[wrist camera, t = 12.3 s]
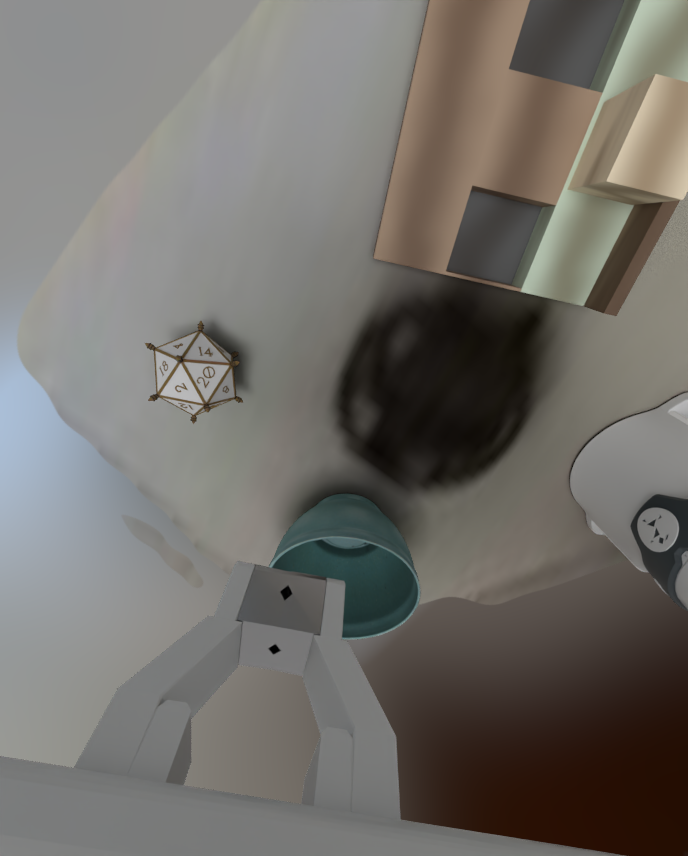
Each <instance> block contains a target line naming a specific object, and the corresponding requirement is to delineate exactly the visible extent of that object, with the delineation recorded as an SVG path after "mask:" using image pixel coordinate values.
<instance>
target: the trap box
mask: <svg viewBox="0 0 688 856" xmlns="http://www.w3.org/2000/svg"><path fill="white" fill-rule="evenodd" d="M654 74H658V75H662V76H666V77H670V78H673V79H677V80H681V81H685V82H688V0H429V2H428V6H427V11H426V16H425V20H424V25H423V29H422V34H421V39H420V43H419V48H418V52H417V57H416V62H415V66H414V71H413V75H412V80H411V85H410V89H409V94H408V98H407V103H406V108H405V112H404V117H403V121H402V126H401V131H400V135H399V140H398V144H397V149H396V154H395V158H394V163H393V167H392V172H391V177H390V181H389V186H388V190H387V195H386V200H385V204H384V209H383V213H382V218H381V223H380V227H379V232H378V236H377V241H376V246H375V250H374V255H373V258H374V259H378V260H382V261H387V262H391V263H396V264H400V265H404V266H409V267H413V268H418V269H422V270H426V271H431V272H435V273H440V274H444V275H448V276H453V277H457V278H462V279H466V280H471V281H475V282H479V283H484V284H488V285H493V286H497V287H501V288H506V289H510V290H515V291H519V292H523V293H528V294H532V295H537V296H541V297H546V298H550V299H554V300H559V301H563V302H568V303H572V304H576V305H581V306H585V307H587V308H590V309H593V310H596V311H599V312H602V313H605V314H609V315H614V316H616V315H617V314H618V312H619V310H620V308H621V306H622V305H623V303H624V301H625V299H626V297H627V296H628V294H629V292H630V290H631V288H632V286H633V285H634V283H635V281H636V279H637V277H638V276H639V274H640V272H641V270H642V268H643V266H644V265H645V263H646V261H647V259H648V257H649V256H650V254H651V252H652V250H653V248H654V247H655V245H656V243H657V241H658V239H659V237H660V236H661V234H662V232H663V230H664V228H665V227H666V225H667V223H668V221H669V219H670V217H671V216H672V214H673V212H674V210H675V208H676V207H677V205H678V203H679V201H680V200H678V201H668V202H658V203H648V204H637V205H629V204H625V203H621V202H617V201H613V200H609V199H605V198H600V197H596V196H592V195H588V194H584V193H580V192H576V191H572V190H568V187H569V184H570V182H571V180H572V177H573V175H574V172H575V170H576V168H577V165H578V163H579V161H580V158H581V156H582V153H583V151H584V149H585V146H586V144H587V141H588V139H589V137H590V134H591V132H592V130H593V127H594V125H595V122H596V120H597V118H598V115H599V113H600V111H601V108H602V106H603V103H604V102H605V101H607V100H609V99H611V98H612V97H614V96H616V95H618V94H620V93H622V92H623V91H625V90H627V89H629V88H631V87H633V86H634V85H636V84H638V83H640V82H642V81H644V80H645V79H647V78H649V77H651V76H653V75H654Z"/></svg>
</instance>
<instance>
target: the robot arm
mask: <svg viewBox="0 0 688 856" xmlns="http://www.w3.org/2000/svg"><path fill="white" fill-rule="evenodd" d="M570 487H571V491H572V494H573V496H574V498H575V500H576V501H577V503H578V504H579V505H580V506H581V507H582V508H583V509H584V511H585V513H586V520H587V524H588V527H589V528H590V529H591V530H592V531H593V532H594V533H595V534H598V535H606V536H607V537H608V538H609V539H610V541H611V542H612V543H613V544H614V545H615V546H616V547H617V548H618V549H619V550H620V551H621V552H622V553H623V554H624V555H625V556H626V557H627V558H628V560H629V561H630V562H631V563H632V564H634V566H635V567H637V569H639V570H640V571H642V572H649V573H650V574H651V575H652V576H653V578H654V580H655V582H656V583H657V585H658V586H659V587H660V588H661V589H662V590H663V592H664V593H666V594H667V595H668V596H670V598H671V599H672V600H673V601H674V602H675V603H676V604H677V605H678V606H680V607H681V608H683V609H685V610H687V611H688V392H687V393H683V394H681V395H679V396H677V397H675V398H673V399H671V400H670V401H668V402H667V403H665V404H663V405H662V406H660V407H659V408H657V409H654V410H651V411H648V412H645V413H641V414H638V415H635V416H632V417H629V418H626V419H624V420H622V421H619V422H617V423H615V424H613V425H612V426H610V427H608V428H607V429H605V430H604V431H602V432H601V433H600V434H598V435H597V436H596V437H595V438H593V439H592V440H591V441H590V442H589V443H588V444H587V445H586V446H585V448H584V449H583V450H582V451H581V453H580V454H579V456H578V457H577V459H576V461H575V463H574V465H573V468H572V471H571V476H570ZM344 600H345V582H344V581H342V580H336V579H331V578H326V577H322V576H317V575H311V574H305V573H299V572H293V571H291V572H289V571H284V570H280V569H275V568H270V567H266V566H261V565H256V564H251V563H246V562H241V561H237V563H236V564H235V566H234V568H233V570H232V573H231V575H230V578H229V580H228V583H227V585H226V588H225V590H224V593H223V595H222V598H221V600H220V603H219V605H218V608H217V610H216V613H215V615H214V617H213V616H207V617H206V618H205V619H203V620H202V621H201V622H200V623H198V624H197V625H196V626H195V627H193V628H192V629H191V630H190V631H189V632H187V633H186V634H185V635H184V636H182V637H181V638H180V639H179V640H177V641H176V642H175V643H174V644H172V645H171V646H170V647H169V648H167V649H166V650H165V651H164V652H162V653H161V654H160V655H159V656H157V657H156V658H155V659H154V660H152V661H151V662H150V663H149V664H148V665H146V666H145V667H144V668H143V669H141V670H140V671H139V672H138V673H137V674H135V675H134V676H133V677H131V678H130V679H129V680H128V681H126V682H125V683H124V684H123V685H122V686H120V687H119V688H118V689H117V691H116V693H115V694H114V696H113V698H112V700H111V702H110V703H109V705H108V707H107V709H106V711H105V712H104V714H103V716H102V718H101V720H100V721H99V723H98V725H97V727H96V729H95V730H94V732H93V734H92V736H91V738H90V740H89V741H88V743H87V745H86V747H85V748H84V750H83V752H82V754H81V756H80V757H79V759H78V761H77V763H76V765H75V766H74V768H72V767H66V766H59V765H53V764H47V763H40V762H34V761H28V760H22V759H16V758H9V757H3V756H0V856H623V855H617V854H610V853H604V852H598V851H591V850H586V849H579V848H573V847H567V846H561V845H554V844H548V843H542V842H536V841H529V840H523V839H517V838H511V837H504V836H498V835H492V834H485V833H479V832H473V831H467V830H460V829H453V828H447V827H442V826H435V825H429V824H422V823H417V822H410V821H404V820H400V801H399V783H398V765H397V746H396V736H395V734H394V732H393V730H392V728H391V726H390V724H389V722H388V720H387V718H386V716H385V714H384V712H383V710H382V708H381V706H380V704H379V702H378V700H377V698H376V696H375V694H374V692H373V690H372V688H371V686H370V684H369V682H368V680H367V679H366V676H365V674H364V673H363V670H362V669H361V667H360V665H359V663H358V661H357V659H356V657H355V655H354V653H353V651H352V649H351V647H350V645H349V643H348V641H346V640H342V631H343V615H344ZM238 665H243V666H250V667H257V668H264V669H271V670H276V671H281V672H285V673H290V674H295V675H300V676H303V681H304V684H305V687H306V690H307V693H308V697H309V700H310V703H311V706H312V709H313V712H314V715H315V718H316V721H317V725H318V728H319V731H320V734H321V736H320V739H319V742H318V744H317V747H316V750H315V753H314V755H313V758H312V761H311V763H310V766H309V769H308V771H307V774H306V777H305V780H304V788H303V796H302V804H297V803H291V802H285V801H279V800H273V799H266V798H260V797H254V796H247V795H241V794H235V793H229V792H222V791H216V790H209V789H204V788H197V787H191V786H185V785H184V783H185V780H186V777H187V773H188V770H189V767H190V764H191V719H192V717H193V716H194V715H195V714H196V713H197V712H198V711H199V710H200V708H201V707H202V706H203V705H204V704H205V703H206V702H207V701H208V700H209V698H210V697H211V696H212V695H213V694H214V693H215V692H216V691H217V690H218V688H219V687H220V686H221V685H222V684H223V683H224V682H225V680H227V678H228V677H229V676H230V675H231V674H232V673H233V672H234V671H235V669H236V668H237V667H238Z"/></svg>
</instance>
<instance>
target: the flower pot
mask: <svg viewBox="0 0 688 856" xmlns="http://www.w3.org/2000/svg"><path fill="white" fill-rule="evenodd" d="M366 542H367V543H366ZM269 567H270V568H275V569H280V570H284V571H289V572H291V571H293V572H299V573H305V574H311V575H317V576H322V577H326V578H331V579H336V580H342V581H344V582H345V600H344V615H343V631H342V639H363V638H369V637H374V636H378V635H381V634H384V633H387V632H389V631H392V630H394V629H395V628H397V627H399V626H400V625H402V624H403V623H404V622H405V621H406V620H408V619H409V618H410V616H411V615H412V614H413V613H414V612H415V610H416V608H417V606H418V603H419V600H420V593H421V591H420V584H419V580H418V576H417V573H416V571H415V568H414V565H413V561H412V557H411V554H410V551H409V549H408V547H407V544H406V542H405V540H404V538H403V537H402V535H401V533H400V532H399V530H398V529H397V528H396V526H395V525H394V524H393V523H392V522H391V520H390V519H389V518H388V517H386V516H385V515H384V514H383V513H382V512H381V511H380V509H379V508H378V507H377V506H376V505H375V504H374V503H373V502H372V501H370V500H369V499H366V498H364V497H362V496H359V495H355V494H336V495H332V496H329V497H327V498H325V499H323V500H322V501H320V502H319V503H318V504H317V505H316V506H315V507H313V508H312V509H310V510H308V511H307V512H306V513H304V514H303V515H302V516H301V517H299V518H298V519H297V520H296V521H295V522H294V523H293V525H292V526H291V527H290V528H289V530H288V531H287V532H286V534H285V535H284V537H283V539H282V540H281V542H280V544H279V546H278V548H277V551H276V553H275V556H274V558H273V559H272V561H271V563H270V565H269Z"/></svg>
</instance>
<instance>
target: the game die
mask: <svg viewBox="0 0 688 856" xmlns="http://www.w3.org/2000/svg"><path fill="white" fill-rule="evenodd" d="M203 327H204V325H203V323H202V321H200V323H199V324H198V329H199V330H198V331H196V332H194V333H191V334H189V335H186V336H184V337H181V338H179V339H176V340H174V341H171V342H169V343H166V344H164V345H162V346H159V347H157V348H156V347H155V346H154V345H152V344H151V343H145V344H146V346H147V348H149V349H150V350H153V351H154V360H155V376H156V392H157V394H155V395H154V394H153V395H152V396H150V398H149V400H148V401H155V400H157V398H158V397H160V398H162V399H163V400H165V401H167V402H169V403H171V404H173V405H175V406H176V407H178V408H180V409H182V410H184V411H186V412H187V413H189V414H191V415H192V417H191V421H192V422H193V424H194V423H195V421H196V418H197V417H196V415H198V414H201V413H203V412H205V411H206V412H209V411H210V409H212V408H214V407H217V406H219V405H221V404H224V403H226V402H228V401H231V400H233V399H235V400H236V401H238V403H239V402H243V401H242V399H241V398H240V397H237V396H236V389H235V378H234V367H235V366H238V364H239V363H240V362H239V361H237V360H235V361H233V357H234V358H235V357H237V356H238V353H239V352H233V353H232V354H230V353H228V352H227V351H226V350H225V349H224V348H222V347H221V346H220V345H219V344H217V343H216V342H215V341H214V340H213V339H211V338H210V337H209V336H208V335H206V334H205V333H204V332H203V331H202V330H203V329H204V328H203Z"/></svg>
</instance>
